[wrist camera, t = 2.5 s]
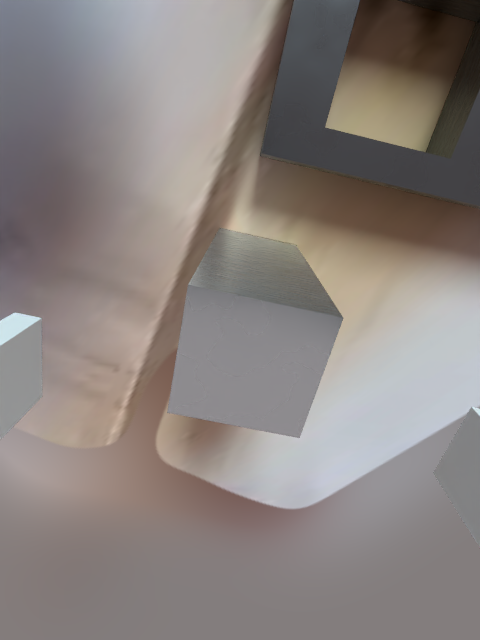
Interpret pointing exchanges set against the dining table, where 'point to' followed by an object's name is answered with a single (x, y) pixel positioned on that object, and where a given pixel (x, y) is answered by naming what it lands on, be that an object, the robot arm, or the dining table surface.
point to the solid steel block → (253, 336)
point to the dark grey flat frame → (359, 152)
